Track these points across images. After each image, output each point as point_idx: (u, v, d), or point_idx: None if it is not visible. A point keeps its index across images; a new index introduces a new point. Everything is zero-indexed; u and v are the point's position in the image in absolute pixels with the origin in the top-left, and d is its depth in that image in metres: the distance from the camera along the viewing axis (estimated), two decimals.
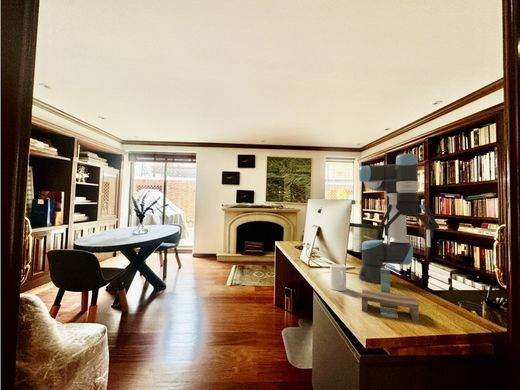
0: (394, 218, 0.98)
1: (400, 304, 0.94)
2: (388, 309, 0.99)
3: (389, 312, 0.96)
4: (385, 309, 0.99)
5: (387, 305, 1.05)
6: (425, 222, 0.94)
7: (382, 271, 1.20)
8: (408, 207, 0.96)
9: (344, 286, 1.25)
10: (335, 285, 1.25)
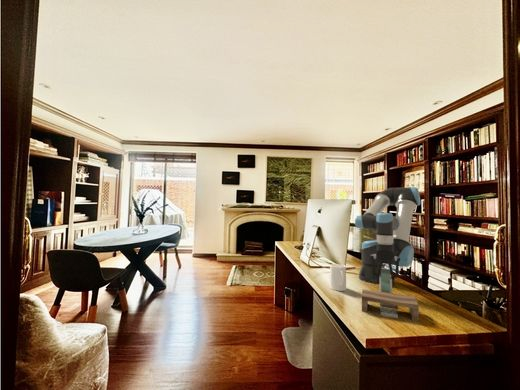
0: (380, 266, 1.22)
1: (400, 304, 0.94)
2: (388, 309, 0.99)
3: (389, 312, 0.96)
4: (385, 309, 0.99)
5: (387, 305, 1.05)
6: (391, 271, 1.20)
7: (382, 271, 1.20)
8: (385, 256, 1.21)
9: (344, 286, 1.25)
10: (335, 285, 1.25)
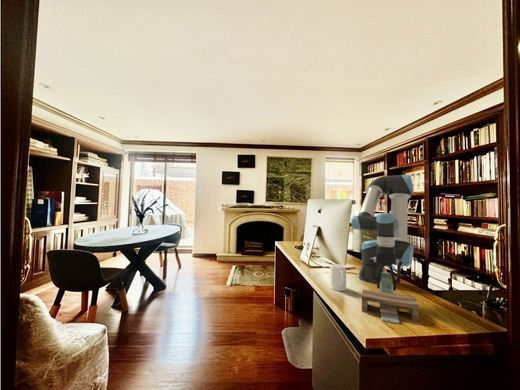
0: (380, 271, 1.13)
1: (400, 304, 0.94)
2: (389, 313, 0.95)
3: (390, 317, 0.92)
4: (386, 313, 0.95)
5: None
6: (392, 275, 1.11)
7: (383, 275, 1.12)
8: (386, 259, 1.12)
9: (344, 286, 1.25)
10: (335, 285, 1.25)
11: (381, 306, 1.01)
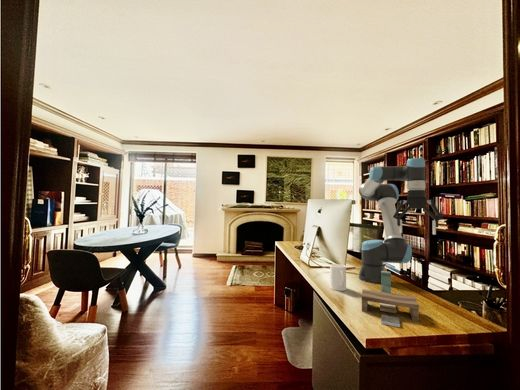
0: (405, 211, 1.18)
1: (400, 304, 0.94)
2: (390, 317, 0.92)
3: (391, 321, 0.89)
4: (386, 317, 0.92)
5: (388, 310, 1.00)
6: (431, 214, 1.14)
7: (382, 274, 1.15)
8: (417, 202, 1.17)
9: (344, 286, 1.25)
10: (335, 285, 1.25)
11: (381, 304, 1.04)
